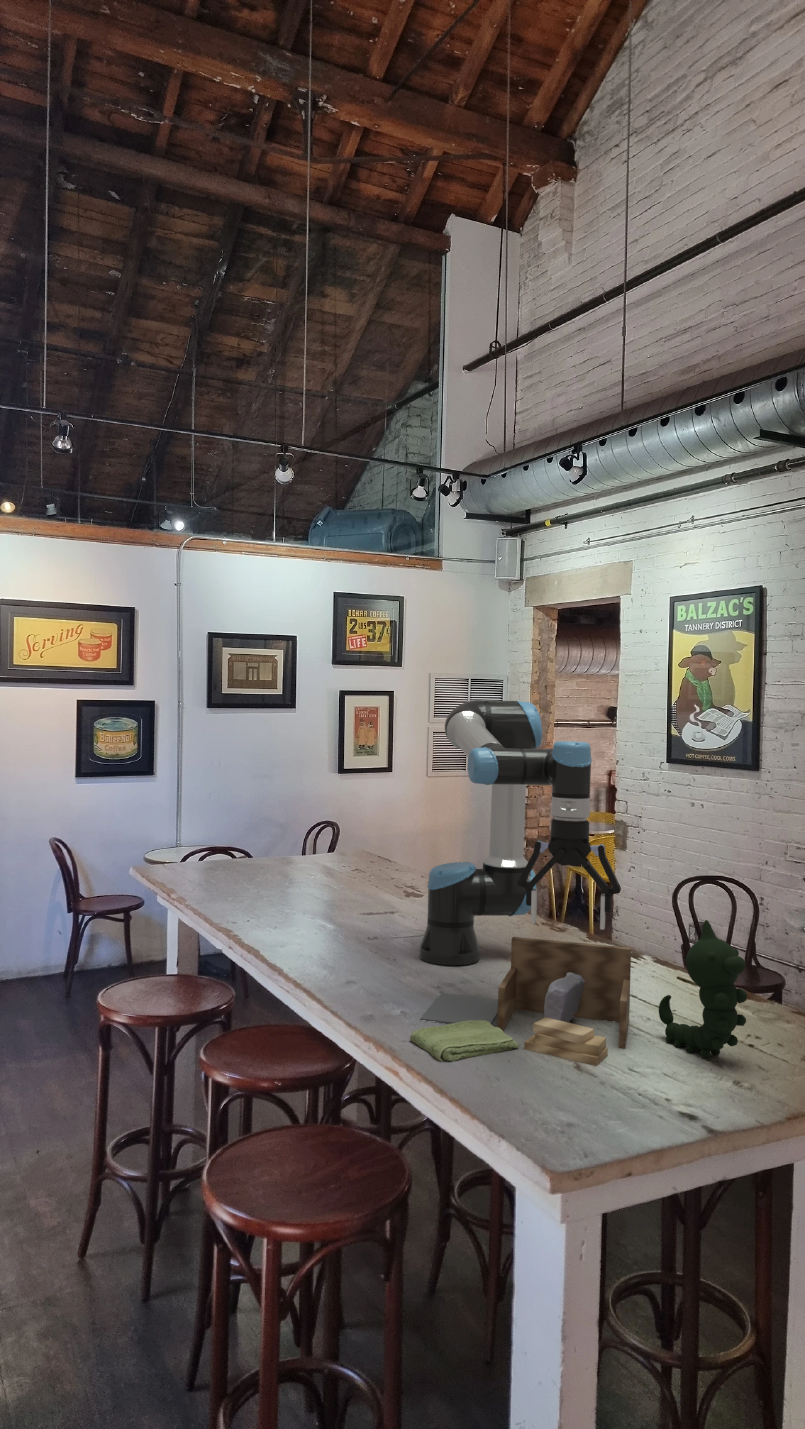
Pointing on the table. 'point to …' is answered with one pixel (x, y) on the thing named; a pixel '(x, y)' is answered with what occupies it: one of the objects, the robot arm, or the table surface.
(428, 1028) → the washcloth
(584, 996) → the walnut rack
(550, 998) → the stone block
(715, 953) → the toy figurine
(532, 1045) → the offcut stack
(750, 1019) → the table surface
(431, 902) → the robot arm
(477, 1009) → the charcoal panel
